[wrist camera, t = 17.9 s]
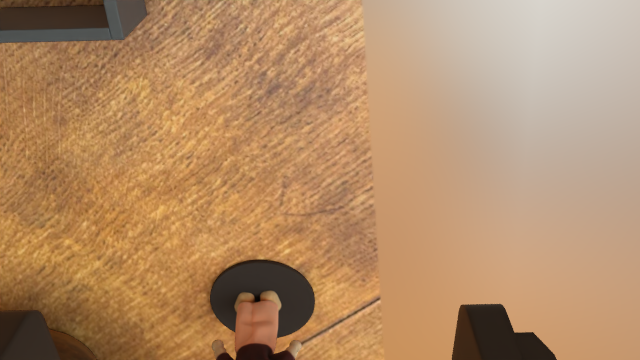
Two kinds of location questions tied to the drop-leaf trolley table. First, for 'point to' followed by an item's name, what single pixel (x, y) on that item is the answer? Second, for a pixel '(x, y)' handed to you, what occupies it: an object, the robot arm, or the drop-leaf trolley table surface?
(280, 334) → the coaster
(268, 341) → the grandmother figurine
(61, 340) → the bowl
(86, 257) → the drop-leaf trolley table surface
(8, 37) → the crate
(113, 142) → the drop-leaf trolley table surface
